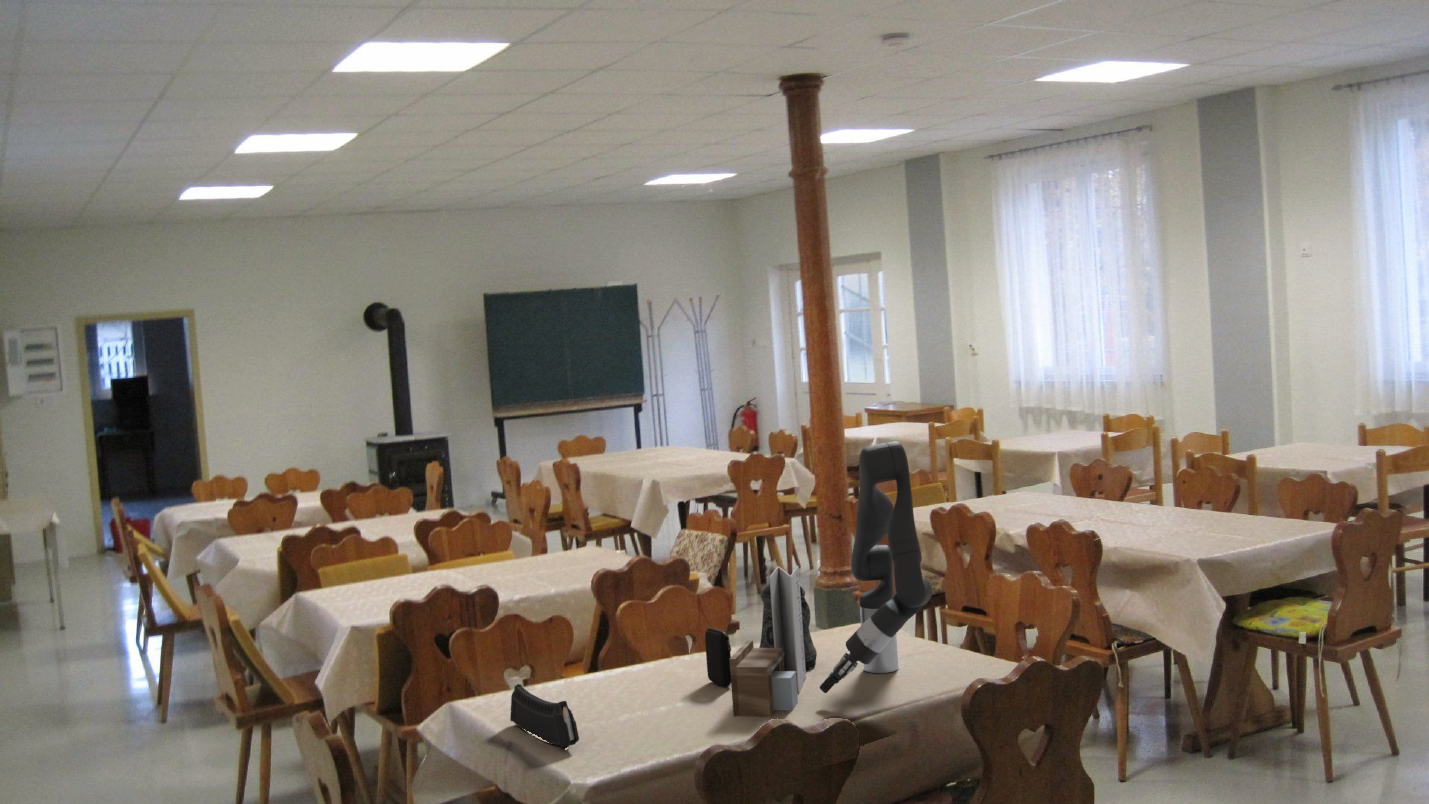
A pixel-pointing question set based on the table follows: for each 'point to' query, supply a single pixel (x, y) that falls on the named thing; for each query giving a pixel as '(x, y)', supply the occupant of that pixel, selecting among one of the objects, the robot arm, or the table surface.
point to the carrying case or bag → (718, 657)
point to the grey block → (784, 690)
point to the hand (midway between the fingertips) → (822, 690)
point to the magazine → (543, 718)
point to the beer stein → (767, 627)
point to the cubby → (754, 679)
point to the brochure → (788, 621)
